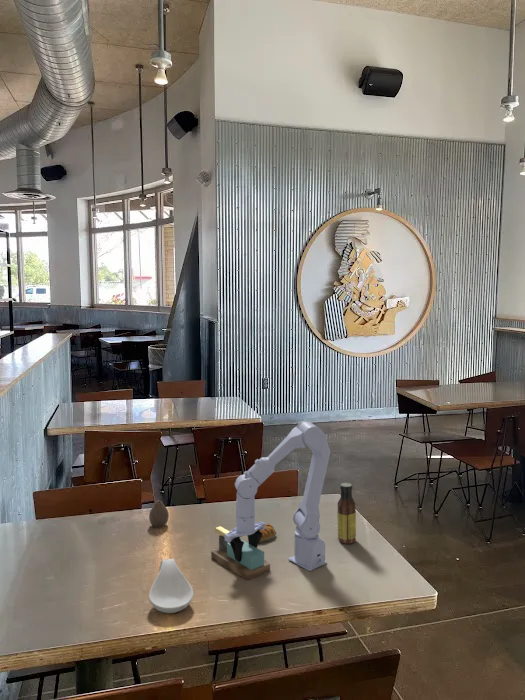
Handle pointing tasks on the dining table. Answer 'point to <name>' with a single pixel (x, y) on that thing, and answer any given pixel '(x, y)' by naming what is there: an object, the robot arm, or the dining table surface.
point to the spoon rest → (170, 589)
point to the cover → (248, 556)
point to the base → (235, 566)
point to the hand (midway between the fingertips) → (245, 557)
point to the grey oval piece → (158, 514)
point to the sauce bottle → (346, 515)
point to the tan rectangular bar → (221, 531)
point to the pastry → (267, 533)
